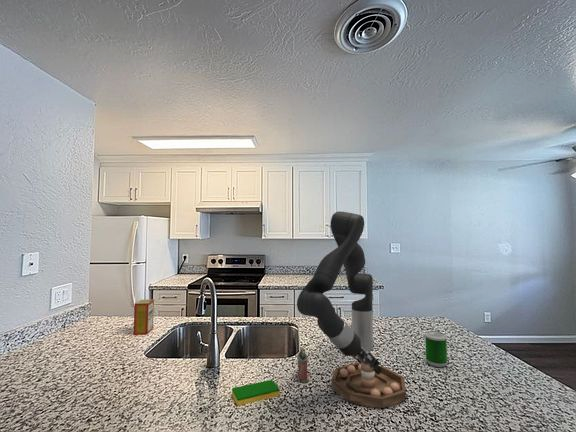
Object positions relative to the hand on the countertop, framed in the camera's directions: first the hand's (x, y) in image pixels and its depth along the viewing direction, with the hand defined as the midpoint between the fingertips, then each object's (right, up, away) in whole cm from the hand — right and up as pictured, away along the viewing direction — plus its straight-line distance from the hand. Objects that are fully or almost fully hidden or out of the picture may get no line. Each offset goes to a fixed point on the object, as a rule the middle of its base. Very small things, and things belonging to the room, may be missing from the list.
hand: (371, 367), depth 101 cm
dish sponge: (-38, -7, -6) cm, 39 cm away
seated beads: (-1, -6, -1) cm, 7 cm away
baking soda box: (-104, -10, +55) cm, 118 cm away
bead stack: (-1, -5, -1) cm, 6 cm away
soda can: (+31, -8, +18) cm, 36 cm away
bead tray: (-1, -6, -1) cm, 7 cm away
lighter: (-23, -7, +6) cm, 25 cm away
